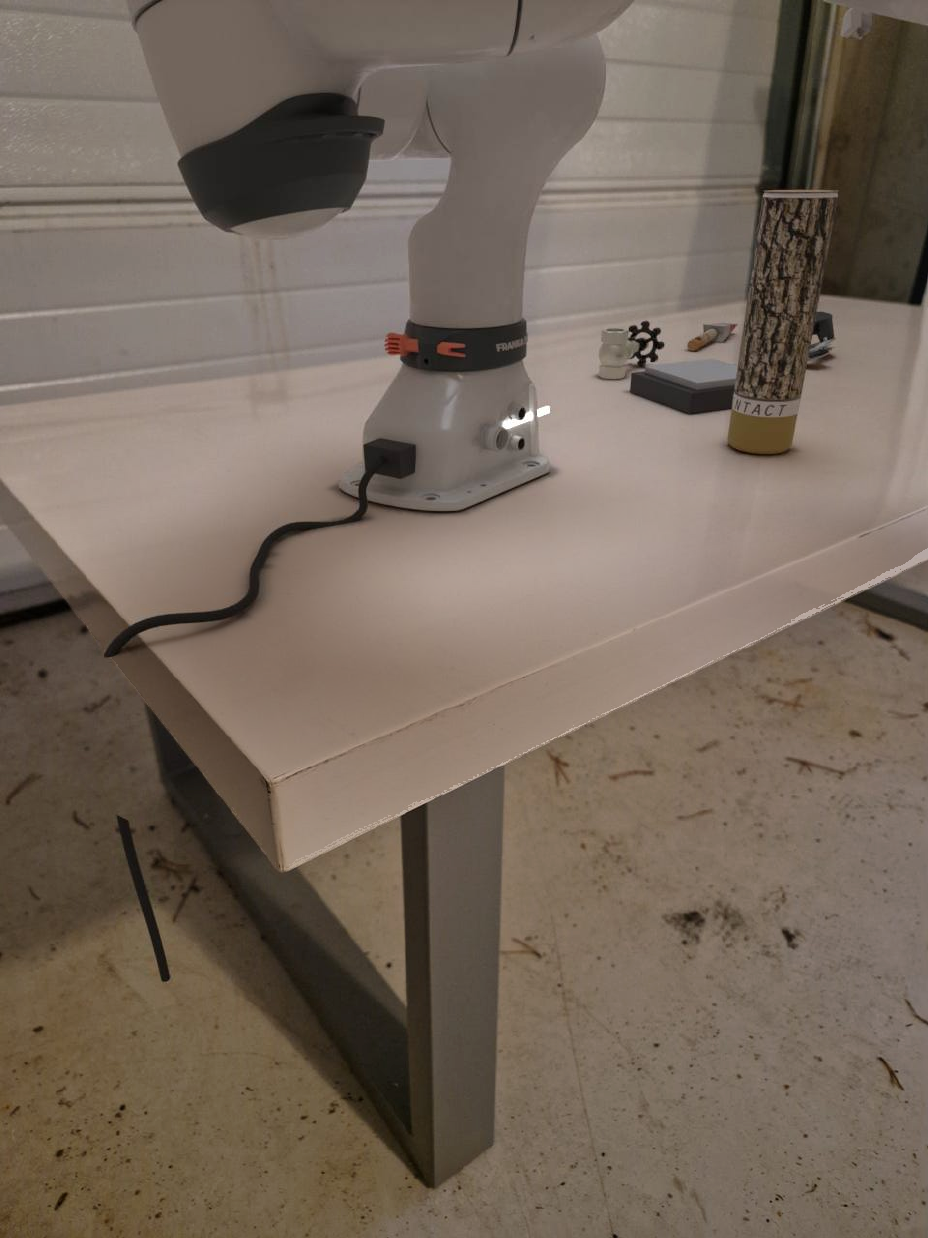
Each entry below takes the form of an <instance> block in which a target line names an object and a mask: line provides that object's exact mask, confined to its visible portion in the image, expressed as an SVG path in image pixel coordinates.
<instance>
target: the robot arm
mask: <svg viewBox="0 0 928 1238" xmlns="http://www.w3.org/2000/svg"><path fill="white" fill-rule="evenodd" d="M822 1H823V2H825V3H828V4H832V5H836V6H841V7H845V8H848V9H847V10H846V12H845V14H844V17H843V19H842V25H841V28H840V29H841V30H840V37H842V38H847V39H852V40H857V41H861V40H862V39H863V37H864V36H866V35H868V34H869V32H870V31H871V30H872V26H873V22H874V19H873V16H874V14H875V15H879V16H883V17H888V18H892V19H896V20H900V21H905V22H910V23H913V24H917V25H922V26H926V27H928V0H822ZM125 2H126V7H127V10H128V15H129V18H130V22H131V26H132V29H133V30H134V32H135V33H136V34H137V36H138V40H139V43H140V46H141V49H142V53H143V55H144V60H145V64H146V67H147V70H148V73H149V75H150V78H151V80H152V85H153V87H154V90H155V93H156V97H157V100H158V103H159V105H160V108H161V110H162V113H163V116H164V119H165V122H166V123H167V126H168V130H169V131H170V135H171V136H172V139H173V142H174V144H175V146H176V149H177V152H178V153H179V156H180V158H179V160H178V161H177V162H176V163H177V165H176V166H177V167H178V170H179V172H180V176H181V177H182V179H183V182H184V184H185V186H186V188H187V191H188V193H189V194H190V197H191V198H192V200H193V202H194V204H195V206H196V208H197V209H198V211H199V213H200V214H201V216H202V218H203V219H204V220H205V221H207V222H208V223H210V224H212V225H213V226H215V227H216V228H218V229H220V230H221V231H223V232H225V233H229V234H230V233H231V234H233V233H234V234H235V233H238V234H240V235H243V236H246V237H250V238H254V239H260V240H267V241H285V240H291V239H297V238H300V237H304V236H306V235H309V234H312V233H315V232H316V231H319V230H320V229H322V228H323V227H326V226H327V225H328V224H329V223H331V222H332V221H333V220H335V219H336V218H337V217H338V216H339V215H340V214H343V213H346V212H348V211H350V210H351V209H352V206H353V205H354V203H355V201H356V199H357V198H358V196H359V194H360V192H361V190H362V188H363V186H364V184H365V183H366V181H367V177H368V170H369V165H370V162H386V161H407V160H408V161H409V160H410V161H411V160H413V161H414V160H418V161H419V160H450V167H449V172H448V177H447V181H446V184H445V187H444V189H443V192H442V194H441V197H440V198H439V200H438V201H437V203H436V205H435V206H433V208H431V209H429V210H428V211H426V212H425V213H424V214H423V215H421V216H420V217H419V218H418V219H417V220H416V221H415V223H413V225H412V227H411V229H410V232H409V233H408V238H407V243H406V252H407V253H406V254H407V281H408V305H409V319H407V321H406V323H405V327H404V332H403V333H402V334H399V333H396V332H388V333H387V334H386V336H385V339H384V347H385V348H384V351H386V354H387V355H389V356H398V355H399V360H400V361H401V365H400V367H399V370H397V373H396V375H395V376H394V377H393V379H392V380H391V382H390V384H389V385H388V387H387V388H386V390H385V391H384V393H383V395H382V396H381V398H380V399H379V401H378V402H377V405H375V407H374V409H373V410H372V412H371V413H370V415H369V416H368V418H367V419H366V420H365V422H364V425H363V431H362V447H361V449H362V450H361V451H362V453H361V454H362V455H361V457H362V460H361V461H360V462H358V464H356V465H355V466H354V467H352V468H351V469H349V470H348V471H347V472H345V473H344V474H343V475H341V476H340V477H339V481H338V487H339V489H341V491H343V492H345V493H346V494H348V495H350V496H352V497H355V498H358V502H359V506H358V509H357V510H356V511H355V512H354V513H353V514H351V515H350V516H349V517H346V518H344V519H339V520H335V521H334V520H333V521H311V520H310V521H307V520H306V521H294V522H289V523H286V524H283V525H282V526H280V527H277V528H276V529H275V530H273V531H271V532H270V533H269V534H268V535H267V536H266V537H265V538H264V540H263V541H262V543H261V545H260V547H259V549H258V552H257V554H256V555H255V558H254V560H253V561H252V563H251V565H250V569H249V587H248V590H247V593H246V594H245V595H244V597H242V599H240V600H239V601H237V602H235V603H234V604H232V605H230V606H227V607H224V608H220V609H215V610H207V611H206V610H205V611H194V612H178V613H177V612H176V613H167V614H161V615H160V614H159V615H155V616H152V617H147V618H144V619H142V620H139V621H137V622H134V623H133V624H131V625H129V626H128V627H126V628H125V629H123V630H122V631H121V632H120V633H119V634H118V635H116V636H115V638H113V640H112V641H111V643H110V644H109V645H108V646H107V648H106V649H105V652H104V654H103V657H104V658H108V659H109V658H112V657H115V656H116V655H118V654H119V652H121V650H122V648H123V647H124V646H125V645H126V644H127V643H128V642H129V641H130V640H132V639H133V638H134V637H137V636H138V635H140V634H141V633H143V632H146V631H148V630H151V629H154V628H159V627H165V626H172V625H173V626H174V625H184V624H185V625H186V624H200V623H211V622H217V621H224V620H226V619H229V618H234V617H235V616H237V615H238V614H241V613H243V612H244V611H245V610H246V609H248V608H249V607H250V606H251V605H252V604H253V603H254V602H255V601H256V599H257V598H258V596H259V591H260V572H261V569H262V567H263V565H264V563H265V561H266V559H267V557H268V554H269V552H270V549H271V547H272V545H273V544H274V542H276V541H277V540H278V539H280V538H282V537H283V536H286V535H287V534H289V533H291V532H294V531H305V530H317V529H322V528H328V527H335V526H341V525H346V524H352V523H356V522H358V521H360V520H361V519H362V518H363V517H364V516H365V514H366V513H367V511H368V507H369V506H368V505H369V502H372V503H377V504H381V505H385V506H390V507H396V508H403V509H409V510H416V511H418V510H419V511H430V512H456V511H461V510H464V509H467V508H469V507H471V506H474V505H476V504H478V503H480V502H483V501H485V500H487V499H491V498H493V497H495V496H497V495H500V494H501V493H504V492H507V491H509V490H511V489H513V488H516V487H518V486H521V485H523V484H525V483H527V482H530V481H532V480H534V479H536V478H539V477H541V476H543V475H546V474H548V473H550V471H551V466H550V460H549V459H548V458H547V457H545V456H544V455H541V453H540V437H539V435H540V434H539V418H540V417H543V416H544V415H547V414H550V410H551V409H550V408H551V406H549V405H546V406H543V407H540V408H538V391H537V387H536V386H535V384H534V382H533V381H532V380H531V378H530V376H529V375H528V372H527V371H526V367H525V365H524V359H525V358H526V357H527V349H528V348H527V347H528V346H527V345H528V341H529V340H528V339H529V338H528V337H529V334H528V332H527V329H528V328H527V327H528V326H527V320H526V319H525V318H524V317H523V313H524V311H523V308H524V287H525V286H524V285H525V284H524V283H525V269H526V267H525V266H526V255H527V245H528V244H527V243H528V237H529V231H530V227H531V224H532V223H531V222H532V218H533V216H534V212H535V209H536V207H537V204H538V201H539V199H540V197H541V194H542V192H543V190H544V188H545V186H546V184H547V182H548V181H549V178H550V177H551V175H552V173H553V171H554V170H555V169H556V167H557V166H558V165H559V163H560V162H561V161H562V159H563V158H564V157H565V156H566V155H567V154H568V153H569V151H570V150H572V148H574V147H575V146H576V145H577V144H578V143H579V142H581V140H582V139H583V138H584V137H585V136H586V135H587V133H588V132H589V131H590V129H591V128H592V126H593V124H594V122H595V120H596V118H597V116H598V114H599V112H600V109H601V106H602V103H603V101H604V95H605V91H606V81H607V64H606V55H605V50H604V46H603V43H602V40H601V38H600V35H599V33H600V32H602V31H604V30H606V29H607V28H608V27H609V26H610V25H612V24H613V23H614V22H616V21H617V20H618V19H619V18H620V17H621V16H622V15H623V14H624V13H625V12H626V11H627V10H628V9H629V8H630V6H631V5H632V4H633V3H634V2H635V0H125ZM115 816H116V820H117V821H116V822H117V825H118V831H119V833H120V834H119V835H120V838H121V843H122V847H123V850H124V854H125V858H126V862H127V866H128V869H129V872H130V876H131V878H132V882H133V886H134V889H135V892H136V895H137V898H138V901H139V902H138V903H139V904H140V908H141V911H142V914H143V918H144V920H145V924H146V927H147V931H148V934H149V938H150V941H151V945H152V949H153V952H154V956H155V960H156V964H157V968H158V972H159V976H160V980H161V982H163V983H167V982H168V981H169V982H170V980H171V974H170V969H169V964H168V961H167V956H166V953H165V949H164V945H163V941H162V937H161V933H160V930H159V927H158V923H157V920H156V916H155V913H154V909H153V906H152V902H151V899H150V896H149V893H148V890H147V886H146V883H145V879H144V875H143V872H142V869H141V866H140V865H141V864H140V862H139V859H138V855H137V854H138V853H137V850H136V847H135V843H134V838H133V834H132V831H131V827H130V820H129V819H126V818H125V817H122V816H121V815H118V814H116V815H115Z"/></svg>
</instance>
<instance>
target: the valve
mask: <svg viewBox="0 0 928 1238" xmlns="http://www.w3.org/2000/svg"><path fill="white" fill-rule="evenodd" d="M650 325H651V322H650V321H649V320H644V321H641V322H640V326H641V328H638V325H636V324H633V325H630V326H629V327H628V329H627V328H621V327H606V328H603V329H602V330H601V334H600V335H601V337H600V342H601V345H600V347H599V351H598V360H599V363H600V364H599V366H598V367H599V368H598V376H599V378H601V379H603V380H604V379H605V380H621V379H624V377H626V371H627V369H626V368H627V365H626V362H627V361H628V360H634V359H635V358H636V359H637V360H638V361H637V362H636V364H637V366H638V367H643V366H646V364H647V359H649V362H650V363H655V362H657V361H658V360H659V355H658V354H657V353H656V352H657V350H658V351H661V350H663V349H664V348H665V345H666V344H665V343H664V341H662V340H661V341H659V340H658V336H660V335H661V334H662V329H661V328H660V327H659V326H658V327H654V328H652V329H650ZM629 333H631V334H630V335H629ZM641 333H644V334H647V335H648V336H649V337H648V338H646V337H638V336H639V334H641ZM637 337H638V338H637ZM651 342H652V348H651V350H650V351H649V352H648V353H646V354H643V353H641V352H644V351H646V350H647V349H648V348H649V347H650V343H651Z"/></svg>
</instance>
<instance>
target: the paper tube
mask: <svg viewBox="0 0 928 1238" xmlns="http://www.w3.org/2000/svg"><path fill="white" fill-rule="evenodd" d="M838 198H839V194H838V191H837V189H835V190H833V189H772V190H771V189H770V190H766V191H764V193H763V195H762V198H761V203H760V212H759V218H758V225H757V230H756V231H757V232H756V238H755V239H756V240H755V243H754V245H755V247H754V253H753V259H752V266H751V272H750V279H749V287H748V291H747V292H748V294H747V298H746V307H745V313H744V320H743V328H742V334H741V335H742V336H741V340H740V348H739V356H738V361H737V366H738V368H737V375H736V381H735V388H734V395H733V402H732V408H731V411H730V418H729V425H728V431H727V443H728V444H729V445H730V446H731V447H732V448H733V449H735V450H737V451H740V452H745V453H748V454H755V455H776V454H781V453H784V452H786V451H788V450H790V448H791V447H792V444H793V442H794V436H795V430H796V424H797V420H798V415H799V409H800V405H801V399H802V394H803V388H804V384H805V383H804V382H805V378H806V371H807V367H808V362H809V361H808V359H809V358H808V356H809V351H810V346H811V344H812V340H813V336H814V335H813V329H814V324H815V319H816V313H817V312H818V306H819V302H820V297H821V293H822V292H821V290H822V286H823V280H824V276H825V270H826V265H827V258H828V254H829V249H830V243H831V237H832V231H833V226H834V221H835V215H836V211H837V206H838V205H837V204H838Z"/></svg>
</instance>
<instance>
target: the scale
mask: <svg viewBox="0 0 928 1238" xmlns="http://www.w3.org/2000/svg"><path fill="white" fill-rule="evenodd" d="M737 368H738V364H733V363H730V362H726V361H722V360H718V359H716V358H711V357H710V358H702V359H694V360H687V361H676V362H668V363H660V364H652V365H651V364H650V365H644V371H642V370H641V371H635V372H631V374H630V386H629V392H630V393H632V394H634V395H636V396H640V397H643V398H645V399H647V400H651V401H652V402H653V401H654V402H656V403H659V404H661V405H664V406H667V407H669V408H672V409H674V410H677V411H680V412H682V413H685V414H688V415H693V414H700V413H708V412H714V411H720V410H728V409H732V402H733V395H734V388H735V381H736V375H737Z"/></svg>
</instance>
